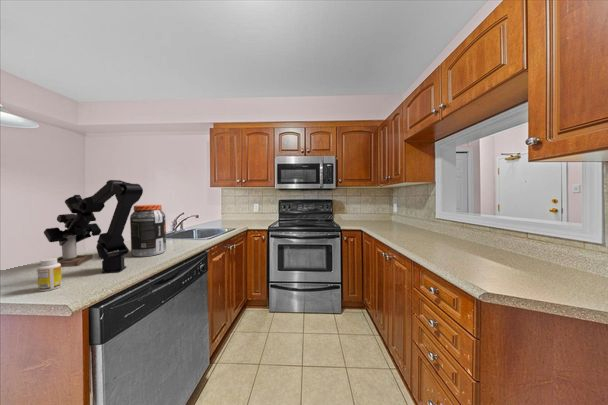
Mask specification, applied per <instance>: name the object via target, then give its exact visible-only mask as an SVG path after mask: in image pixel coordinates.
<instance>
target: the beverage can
mask: <svg viewBox="0 0 608 405" xmlns="http://www.w3.org/2000/svg"><path fill="white" fill-rule="evenodd" d="M67 239H68V241H67V242H66V243H64V244H63V245H62V246H61V256H62V257H63V259H65V260H67V259H73V258H76V257H77V255H78V250H77V243H76V235H75V236H72V235H70V236H68V237H67Z"/></svg>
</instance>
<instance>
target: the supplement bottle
mask: <svg viewBox="0 0 608 405" xmlns="http://www.w3.org/2000/svg"><path fill="white" fill-rule="evenodd" d="M57 258H58V257H48V258H47V257H46V258H43V259H41V260H40V261H39V262H40V265H38V267H37V269H36V270H37V271H36V272H37V283H38V284H37V286H38V287H37V288H38V291H40V292H48V291H53V290H57V289H58V288H60V287H62V286H63V281H62V278H63V277H62V267H61V264H60V263H57Z"/></svg>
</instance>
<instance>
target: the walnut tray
mask: <svg viewBox="0 0 608 405" xmlns="http://www.w3.org/2000/svg"><path fill="white" fill-rule="evenodd" d="M56 258H57V263H60V264H61V268H65V267H77V266H81V265H82V264H85V263H86V262H88V261H90V260H93V258H94V256H93V254H79V255H78V254H77V257H76V258H73V259H67V260H65V259H63V257H62V255H61V256H59V257H56Z"/></svg>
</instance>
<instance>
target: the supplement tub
mask: <svg viewBox="0 0 608 405" xmlns="http://www.w3.org/2000/svg"><path fill="white" fill-rule="evenodd" d="M129 216H130V217H129V224H130V250H131V251H130V254H131V255H132V256H134V257H151V256H157V255H161V254H163V253H165V252H167V251H166V250H167V232H166V231H167V230H166V229H167V228H166V227H167V226H166V214H165V212H164V211H163V210H162V205H161V204H141V205H138V204H137V205H133V212H132V213H131V214H130V215H129Z"/></svg>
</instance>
